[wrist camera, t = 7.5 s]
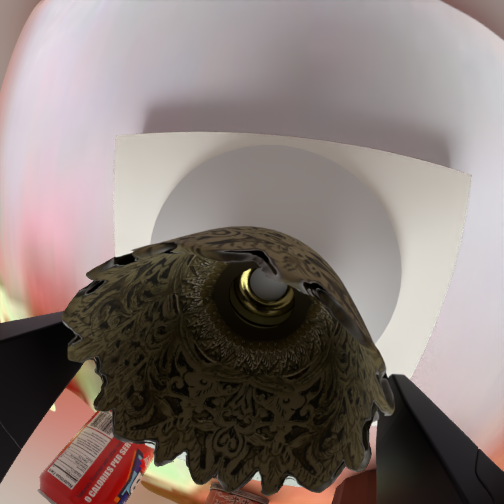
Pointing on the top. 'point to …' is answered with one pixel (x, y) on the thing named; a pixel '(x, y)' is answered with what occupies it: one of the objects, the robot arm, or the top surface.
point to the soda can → (95, 466)
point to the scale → (307, 218)
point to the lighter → (232, 497)
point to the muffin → (357, 489)
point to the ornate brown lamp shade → (233, 359)
